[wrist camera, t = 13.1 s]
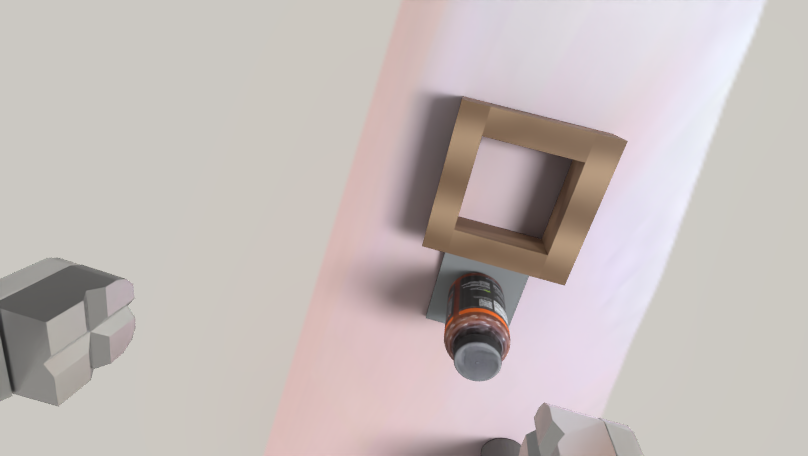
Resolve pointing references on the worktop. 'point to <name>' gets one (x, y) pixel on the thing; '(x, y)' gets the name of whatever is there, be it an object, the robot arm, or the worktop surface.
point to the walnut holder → (572, 208)
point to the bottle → (501, 448)
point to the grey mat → (460, 266)
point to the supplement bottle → (476, 326)
